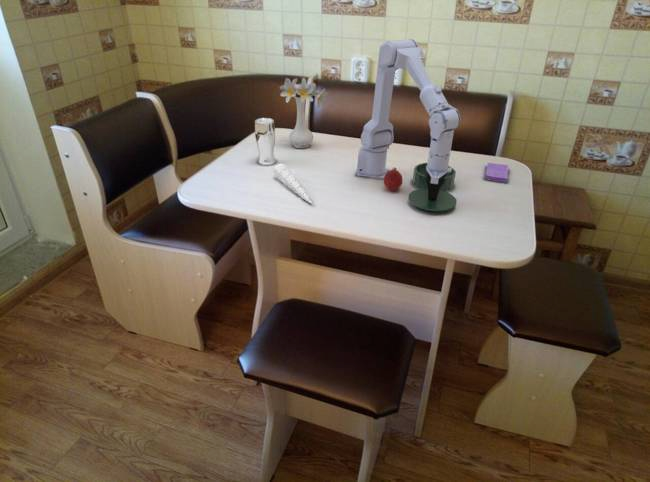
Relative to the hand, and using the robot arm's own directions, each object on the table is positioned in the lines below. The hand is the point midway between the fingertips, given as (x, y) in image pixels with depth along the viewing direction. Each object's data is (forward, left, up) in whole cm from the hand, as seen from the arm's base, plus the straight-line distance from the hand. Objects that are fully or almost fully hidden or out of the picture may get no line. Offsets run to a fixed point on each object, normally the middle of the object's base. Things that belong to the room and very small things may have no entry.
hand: (432, 196), depth 134 cm
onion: (-13, +6, -3) cm, 15 cm away
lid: (0, 0, -1) cm, 1 cm away
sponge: (+19, +31, -3) cm, 37 cm away
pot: (-1, +15, -3) cm, 16 cm away
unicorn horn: (-43, -2, -3) cm, 43 cm away
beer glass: (-60, +16, -3) cm, 62 cm away
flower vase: (-53, +36, -3) cm, 64 cm away
